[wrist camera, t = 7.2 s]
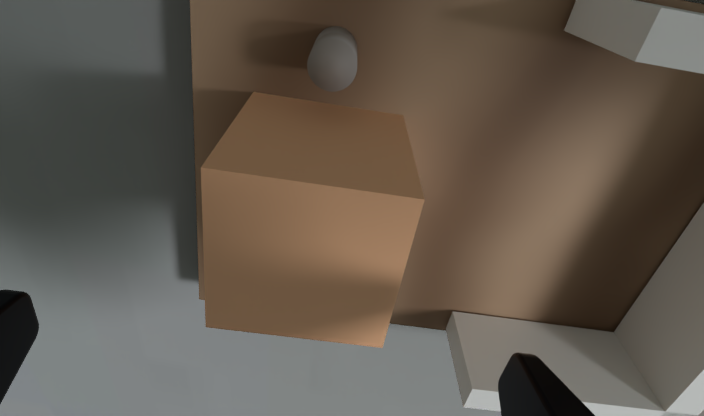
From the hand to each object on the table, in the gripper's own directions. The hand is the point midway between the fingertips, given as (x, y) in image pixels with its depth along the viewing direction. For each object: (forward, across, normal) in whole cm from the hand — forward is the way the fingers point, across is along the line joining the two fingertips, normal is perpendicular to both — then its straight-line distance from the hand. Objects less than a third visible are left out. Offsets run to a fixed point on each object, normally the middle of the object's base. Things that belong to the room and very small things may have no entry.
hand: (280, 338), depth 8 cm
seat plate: (+8, -6, 0) cm, 10 cm away
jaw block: (+7, 0, 0) cm, 7 cm away
